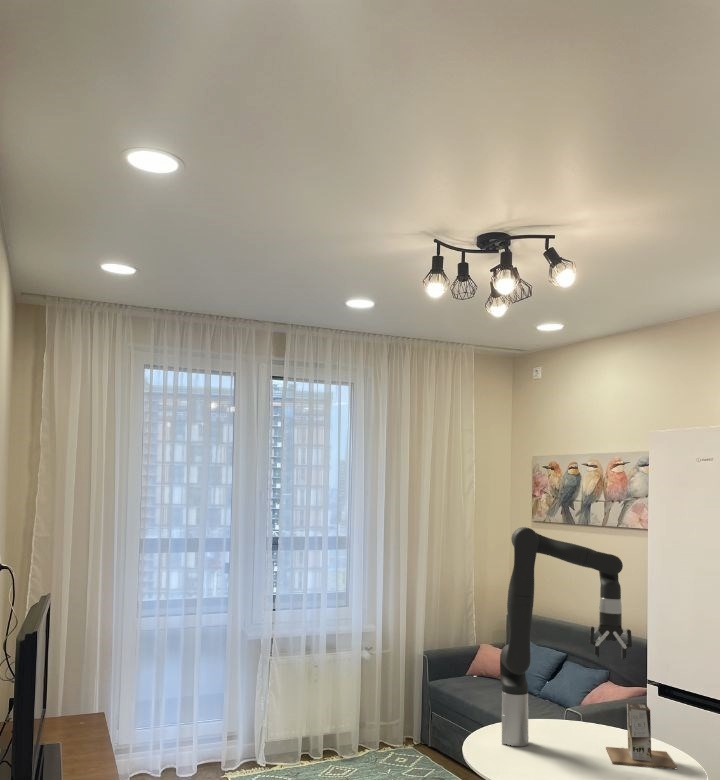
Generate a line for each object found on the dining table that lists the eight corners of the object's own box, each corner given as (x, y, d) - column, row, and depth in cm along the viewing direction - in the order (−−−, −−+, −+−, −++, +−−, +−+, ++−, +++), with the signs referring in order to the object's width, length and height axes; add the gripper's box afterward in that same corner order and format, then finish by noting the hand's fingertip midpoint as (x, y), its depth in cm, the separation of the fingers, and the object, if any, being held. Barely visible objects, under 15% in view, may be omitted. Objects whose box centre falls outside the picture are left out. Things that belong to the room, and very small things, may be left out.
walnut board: (612, 763, 247) (612, 761, 247) (605, 749, 262) (605, 746, 262) (677, 769, 244) (676, 766, 244) (666, 754, 258) (666, 751, 258)
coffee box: (652, 761, 248) (650, 710, 250) (631, 759, 249) (630, 708, 251) (647, 752, 257) (646, 703, 259) (627, 751, 258) (626, 701, 260)
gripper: (590, 611, 267) (590, 658, 265) (633, 614, 265) (633, 662, 262) (588, 608, 275) (588, 654, 273) (629, 611, 272) (629, 657, 270)
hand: (610, 658), depth 267 cm, fingers open, 8 cm apart
